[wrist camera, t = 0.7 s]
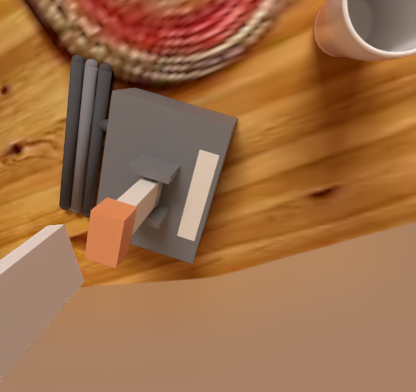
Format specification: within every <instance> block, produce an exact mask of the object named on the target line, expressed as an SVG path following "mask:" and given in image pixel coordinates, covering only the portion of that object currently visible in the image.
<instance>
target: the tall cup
mask: <svg viewBox="0 0 416 392" xmlns="http://www.w3.org/2000/svg"><path fill="white" fill-rule="evenodd" d="M314 38H315V41H316V43H317V45H318V47H319V48H320V49H321V50H322V51H323V52H324V53H326V54H327V55H330V56H333V57H347V58H351V59H356V60H361V61H386V60H393V59H398V58H402V57H406V56H411V55H414V54H416V0H325V3H324V5H323V6H322V8H321V9H320V11H319V12H318V14H317V16H316V19H315V23H314Z"/></svg>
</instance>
